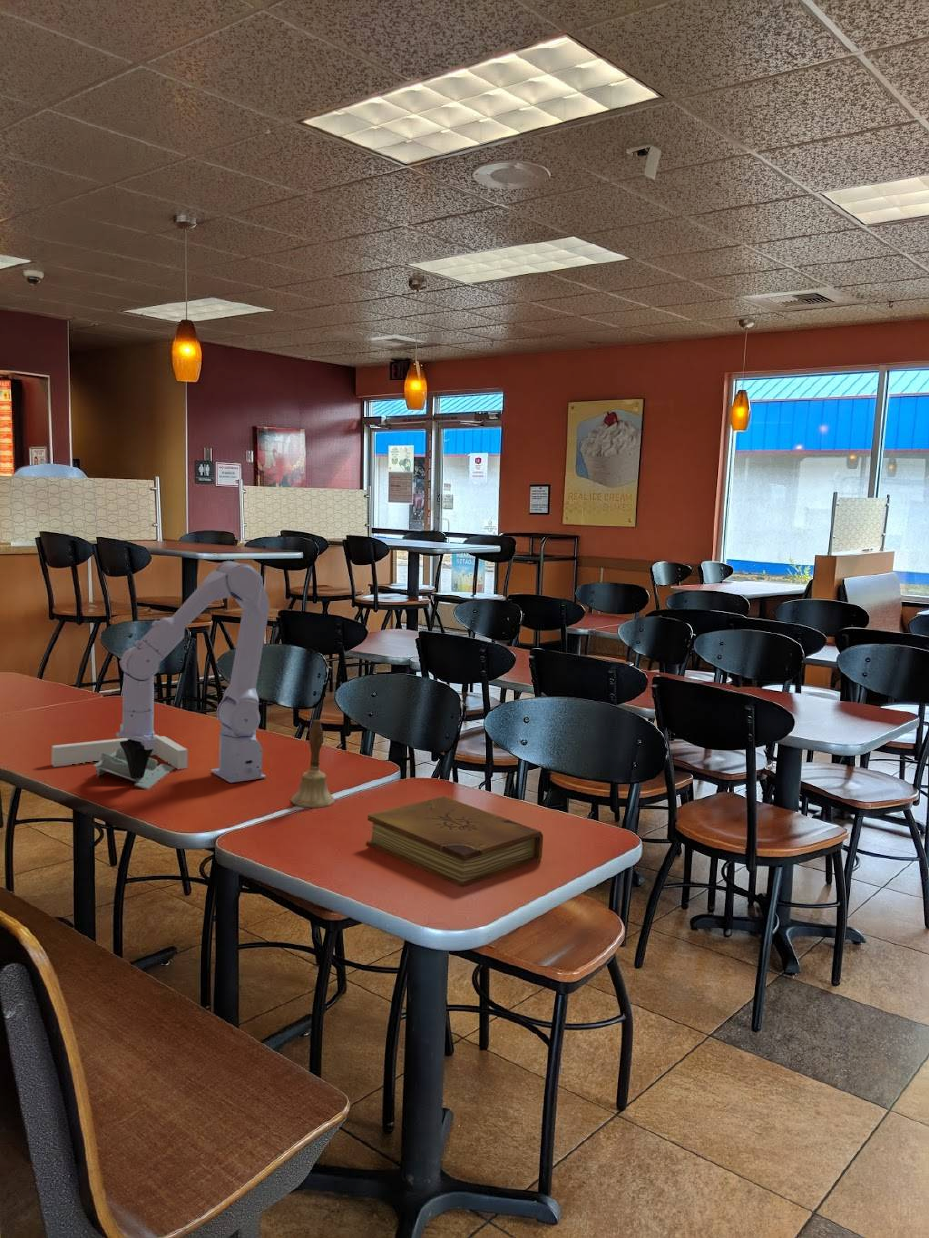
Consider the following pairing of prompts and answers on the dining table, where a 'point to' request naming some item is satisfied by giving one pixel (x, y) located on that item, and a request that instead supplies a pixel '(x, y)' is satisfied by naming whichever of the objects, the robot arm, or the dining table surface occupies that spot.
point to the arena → (94, 751)
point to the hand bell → (314, 776)
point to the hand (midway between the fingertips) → (137, 777)
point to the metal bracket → (119, 766)
